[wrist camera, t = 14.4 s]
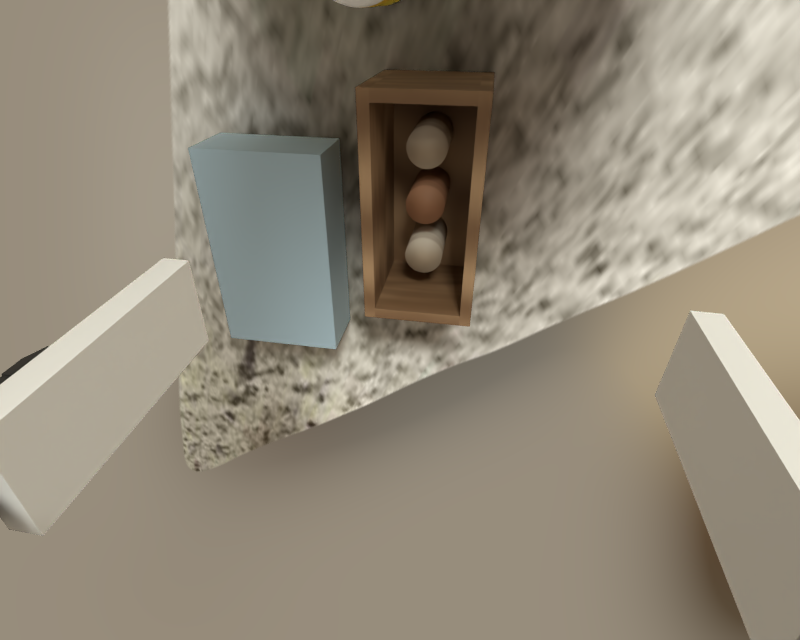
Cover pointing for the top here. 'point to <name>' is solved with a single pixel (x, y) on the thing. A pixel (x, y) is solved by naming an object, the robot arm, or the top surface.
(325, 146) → the light blue block
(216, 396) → the top surface
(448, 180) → the box
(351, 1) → the pill bottle
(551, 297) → the top surface
